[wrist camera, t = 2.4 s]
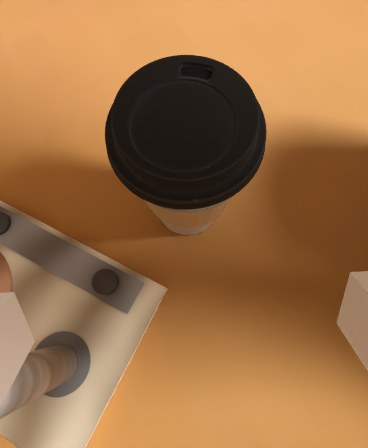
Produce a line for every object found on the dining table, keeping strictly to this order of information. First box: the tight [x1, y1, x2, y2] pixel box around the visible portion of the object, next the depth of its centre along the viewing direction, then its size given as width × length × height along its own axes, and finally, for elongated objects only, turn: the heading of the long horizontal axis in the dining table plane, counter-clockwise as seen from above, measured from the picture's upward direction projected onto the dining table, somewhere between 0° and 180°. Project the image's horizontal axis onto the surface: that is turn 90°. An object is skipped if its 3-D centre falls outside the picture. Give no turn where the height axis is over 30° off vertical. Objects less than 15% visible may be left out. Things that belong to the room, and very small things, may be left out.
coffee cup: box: [105, 55, 266, 235], centre depth 22 cm, size 9×9×15 cm
